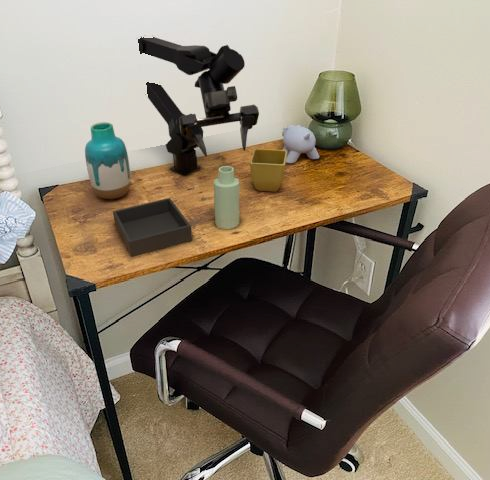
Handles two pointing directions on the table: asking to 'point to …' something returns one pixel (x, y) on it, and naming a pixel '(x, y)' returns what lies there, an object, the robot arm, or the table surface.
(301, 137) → the hippopotamus toy
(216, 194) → the bottle
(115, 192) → the vase
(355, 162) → the table surface
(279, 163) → the flower pot
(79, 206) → the table surface
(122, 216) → the bin
